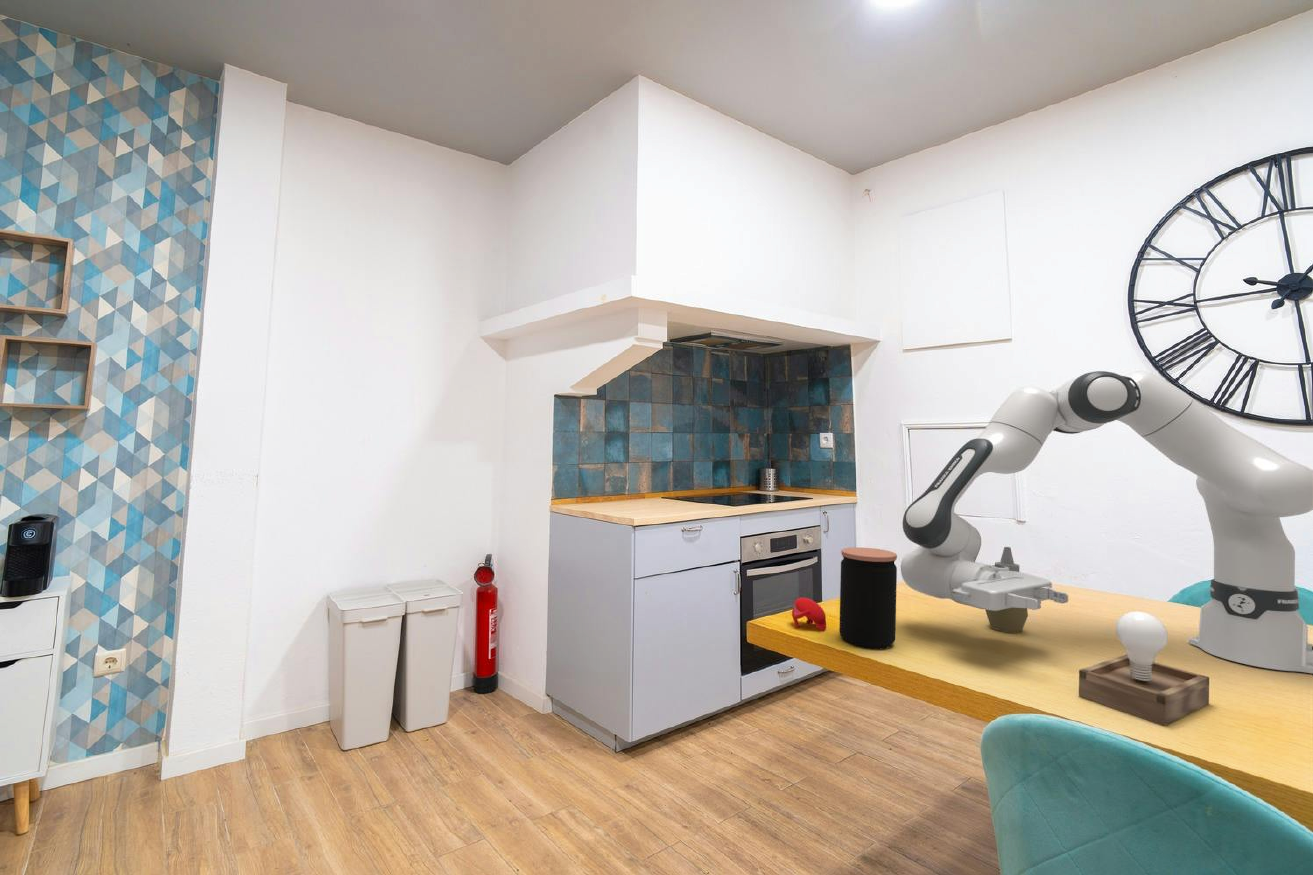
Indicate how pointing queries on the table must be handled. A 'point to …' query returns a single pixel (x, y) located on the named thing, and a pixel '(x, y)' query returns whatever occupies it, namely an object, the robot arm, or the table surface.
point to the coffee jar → (868, 597)
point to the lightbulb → (1141, 641)
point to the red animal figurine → (809, 613)
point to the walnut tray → (1145, 690)
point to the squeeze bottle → (1009, 617)
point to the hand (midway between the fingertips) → (1052, 601)
